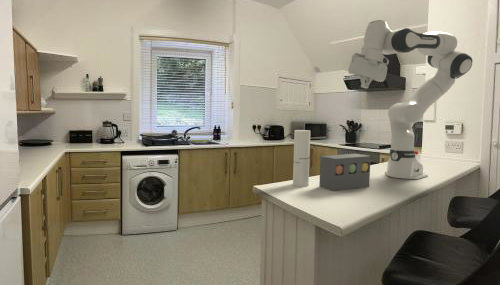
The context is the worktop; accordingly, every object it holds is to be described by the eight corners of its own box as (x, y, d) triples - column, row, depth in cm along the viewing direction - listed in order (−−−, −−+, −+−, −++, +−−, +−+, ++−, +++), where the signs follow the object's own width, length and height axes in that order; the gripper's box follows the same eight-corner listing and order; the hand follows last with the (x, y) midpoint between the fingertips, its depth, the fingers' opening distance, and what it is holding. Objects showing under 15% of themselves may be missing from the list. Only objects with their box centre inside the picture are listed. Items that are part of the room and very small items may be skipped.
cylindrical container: (308, 187, 151) (310, 131, 149) (292, 186, 153) (293, 130, 150) (308, 183, 158) (310, 130, 156) (293, 182, 160) (295, 129, 157)
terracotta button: (337, 172, 149) (337, 163, 148) (342, 174, 146) (343, 164, 146) (330, 173, 147) (330, 164, 146) (335, 174, 144) (336, 165, 144)
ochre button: (362, 170, 157) (363, 161, 157) (368, 171, 154) (368, 162, 154) (356, 170, 155) (356, 162, 155) (362, 171, 152) (362, 163, 152)
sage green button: (350, 171, 153) (350, 162, 153) (355, 172, 150) (356, 163, 150) (343, 172, 151) (344, 163, 151) (349, 173, 148) (349, 164, 148)
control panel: (354, 182, 163) (355, 153, 162) (369, 186, 155) (370, 155, 154) (319, 187, 152) (320, 156, 151) (333, 191, 144) (335, 158, 143)
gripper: (358, 51, 144) (352, 83, 146) (391, 61, 154) (385, 92, 155) (348, 52, 150) (342, 83, 151) (380, 62, 160) (374, 91, 161)
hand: (364, 87), depth 153 cm, fingers closed
